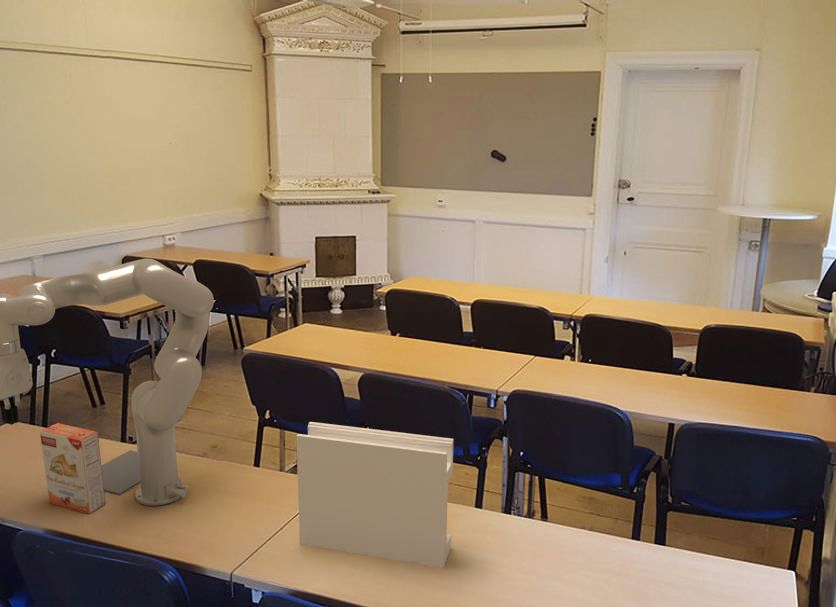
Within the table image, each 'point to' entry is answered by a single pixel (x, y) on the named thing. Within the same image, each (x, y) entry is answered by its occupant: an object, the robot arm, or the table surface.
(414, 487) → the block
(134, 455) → the mat
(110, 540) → the table surface
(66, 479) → the cracker box
